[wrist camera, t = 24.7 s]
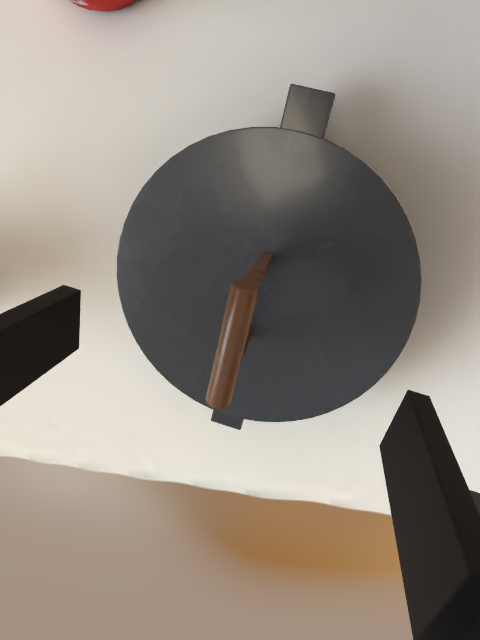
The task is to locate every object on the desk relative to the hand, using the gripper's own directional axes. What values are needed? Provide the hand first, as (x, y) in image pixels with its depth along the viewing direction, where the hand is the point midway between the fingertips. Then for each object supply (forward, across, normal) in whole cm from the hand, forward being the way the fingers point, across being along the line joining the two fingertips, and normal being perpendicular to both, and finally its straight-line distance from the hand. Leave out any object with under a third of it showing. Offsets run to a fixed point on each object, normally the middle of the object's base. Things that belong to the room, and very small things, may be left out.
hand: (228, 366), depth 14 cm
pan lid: (+10, 0, 0) cm, 10 cm away
